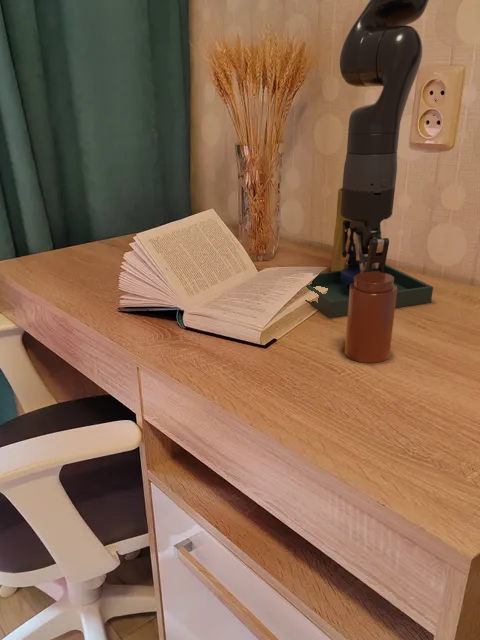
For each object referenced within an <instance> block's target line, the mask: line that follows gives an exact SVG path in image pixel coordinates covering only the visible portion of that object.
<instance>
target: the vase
mask: <svg viewBox="0 0 480 640" xmlns="http://www.w3.org/2000/svg"><path fill="white" fill-rule="evenodd" d="M341 201H342V187H340V188H339V189H338V190H337V200H336V202H337V204H336V216H335V217H336V218H335V226H334V235H333V245H332V257H331V264H330V265H331V266H330V272H333V271H341V270H343V269H345V268H347V265H348V264H346V262H345V258H346V257H343V256H342V236H343V220H348V219H345V218H344V217H342V215H341ZM364 256H366V254H364Z"/></svg>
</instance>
